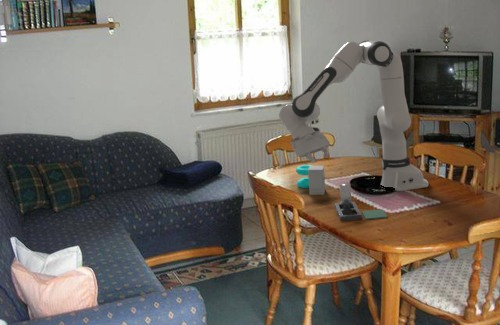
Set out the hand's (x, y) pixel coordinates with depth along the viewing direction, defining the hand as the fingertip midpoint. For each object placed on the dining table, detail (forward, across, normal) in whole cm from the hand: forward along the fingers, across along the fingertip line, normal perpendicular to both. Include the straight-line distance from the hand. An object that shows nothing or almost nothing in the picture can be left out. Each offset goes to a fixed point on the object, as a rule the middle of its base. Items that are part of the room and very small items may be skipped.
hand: (321, 159), depth 266 cm
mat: (+34, +1, -4) cm, 34 cm away
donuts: (-2, +19, +33) cm, 38 cm away
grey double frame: (+26, -3, +4) cm, 27 cm away
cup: (+24, 0, +6) cm, 25 cm away
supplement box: (+6, +13, +25) cm, 29 cm away
